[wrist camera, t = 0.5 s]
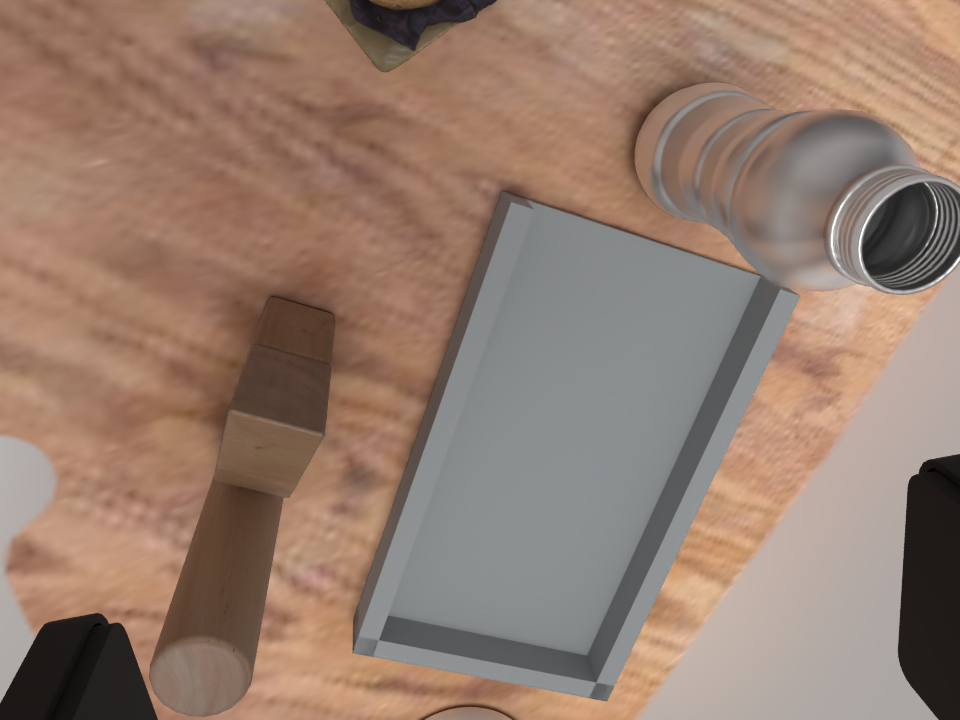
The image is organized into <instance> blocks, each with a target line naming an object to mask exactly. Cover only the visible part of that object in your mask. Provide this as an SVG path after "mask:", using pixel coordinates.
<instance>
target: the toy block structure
mask: <svg viewBox="0 0 960 720" xmlns="http://www.w3.org/2000/svg"><path fill="white" fill-rule="evenodd" d="M334 328H335V316H333V315H332V314H331V313H328V312H324V311H321V310H317V309H314V308H311V307H307V306H304V305H301V304H297V303H294V302H290V301H287V300H284V299H280V298H277V297H271V298H269V299H268V300H267V302H266V305H265V307H264V310H263V313H262V316H261V319H260V321H259V324H258V327H257V330H256V333H255V336H254V338H253V341H252V344H251V347H250V351H249V354H248V357H247V359H246V362H245V365H244V368H243V371H242V373H241V376H240V379H239V382H238V385H237V388H236V390H235V393H234V396H233V399H232V402H231V405H230V407H229V410H228V415H227V419H226V424H225V428H224V433H223V438H222V442H221V447H220V451H219V456H218V460H217V465H216V469H215V474H214V476H213V479H212V482H211V485H210V488H209V491H208V494H207V497H206V500H205V503H204V506H203V509H202V512H201V515H200V518H199V521H198V524H197V527H196V530H195V533H194V536H193V539H192V542H191V545H190V548H189V551H188V554H187V557H186V560H185V563H184V565H183V568H182V571H181V574H180V577H179V580H178V583H177V586H176V589H175V592H174V595H173V598H172V601H171V604H170V607H169V610H168V613H167V616H166V619H165V622H164V625H163V628H162V631H161V634H160V637H159V640H158V643H157V646H156V649H155V652H154V655H153V658H152V661H151V664H150V673H149V679H150V682H151V685H152V688H153V691H154V694H155V695H156V696H157V697H158V699H159V700H160V701H161V702H162V703H163V704H164V705H165V706H167V707H169V708H170V709H172V710H173V711H175V712H178V713H182V714H185V715H188V716H202V717H205V716H210V715H215V714H219V713H222V712H224V711H226V710H228V709H230V708H232V707H233V706H234V705H235V704H236V703H237V702H239V701H240V700H241V699H242V698H243V697H244V696H245V694H246V692H247V690H248V688H249V687H250V685H251V681H252V675H253V670H254V664H255V658H256V652H257V647H258V641H259V635H260V629H261V624H262V618H263V612H264V606H265V601H266V595H267V589H268V584H269V578H270V572H271V566H272V561H273V555H274V549H275V543H276V538H277V532H278V526H279V520H280V515H281V509H282V503H283V498H288V497H290V495H291V494H292V492H293V490H294V489H295V487H296V485H297V483H298V482H299V480H300V478H301V476H302V474H303V473H304V471H305V469H306V467H307V465H308V464H309V462H310V460H311V458H312V457H313V455H314V453H315V451H316V449H317V448H318V446H319V444H320V442H321V441H322V439H323V437H324V435H325V426H326V417H327V407H328V397H329V388H330V378H331V357H332V347H333V338H334Z"/></svg>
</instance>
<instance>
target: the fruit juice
mask: <svg viewBox="0 0 960 720" xmlns="http://www.w3.org/2000/svg"><path fill="white" fill-rule="evenodd" d="M425 720H512V719H511V718H509V717H507V716H506V715H504V714H502V713H499V712H497V711H494V710H491V709H486V708H480V707H460V708H454V709H449V710H445V711H442V712H439V713H437V714H434V715H432V716H430V717H428V718H426V719H425Z"/></svg>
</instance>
